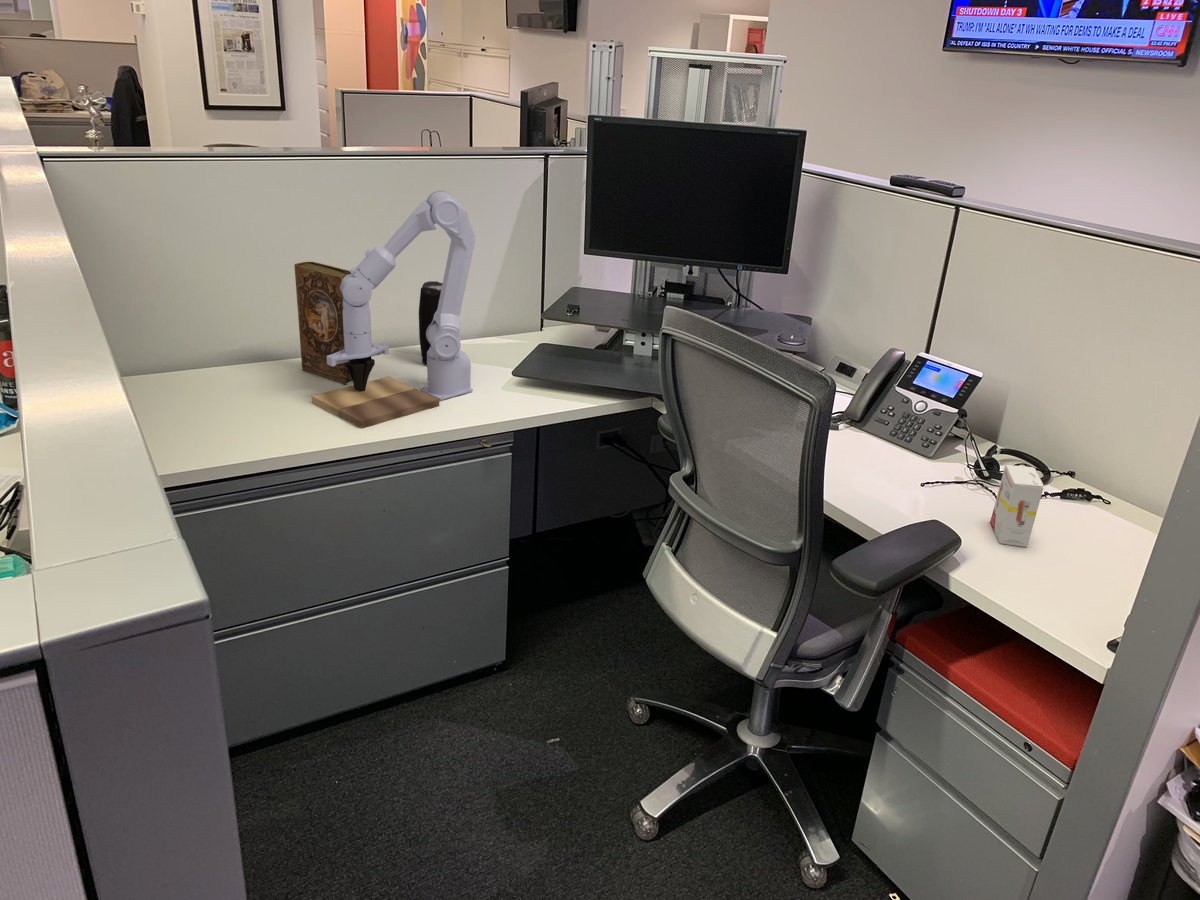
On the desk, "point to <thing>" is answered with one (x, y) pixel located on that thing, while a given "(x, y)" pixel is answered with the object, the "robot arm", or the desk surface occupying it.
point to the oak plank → (359, 394)
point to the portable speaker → (427, 312)
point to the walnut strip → (388, 408)
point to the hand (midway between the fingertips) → (360, 390)
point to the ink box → (1016, 505)
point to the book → (321, 318)
